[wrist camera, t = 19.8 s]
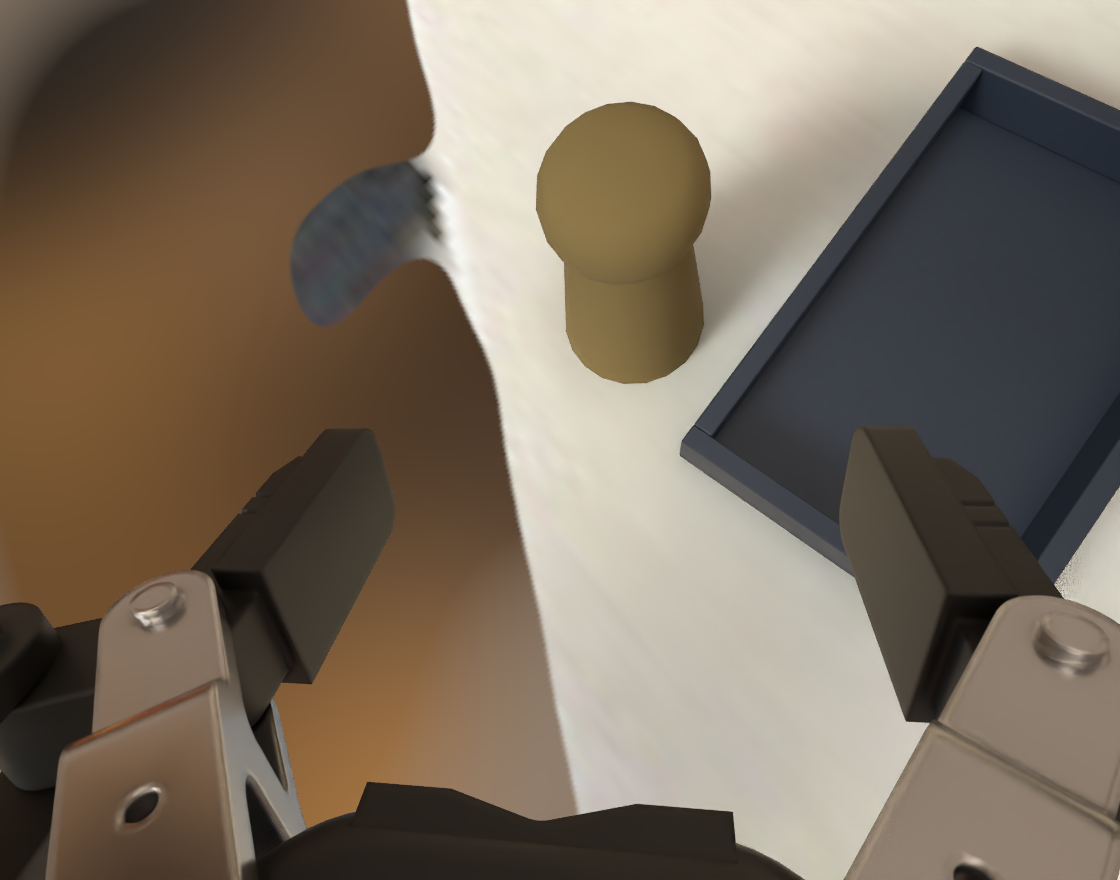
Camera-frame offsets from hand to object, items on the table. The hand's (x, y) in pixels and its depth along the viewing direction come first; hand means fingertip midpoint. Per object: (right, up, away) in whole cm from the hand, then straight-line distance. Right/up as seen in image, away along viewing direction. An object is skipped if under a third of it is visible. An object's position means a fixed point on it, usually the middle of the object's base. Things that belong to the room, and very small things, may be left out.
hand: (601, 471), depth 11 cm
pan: (+15, +4, +15) cm, 22 cm away
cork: (+3, +6, +17) cm, 19 cm away
